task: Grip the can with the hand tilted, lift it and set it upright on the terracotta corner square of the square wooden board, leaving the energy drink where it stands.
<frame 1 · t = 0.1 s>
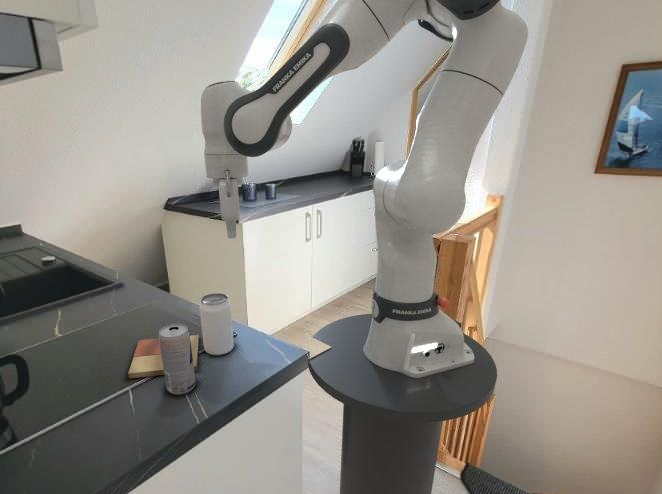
hand: (231, 232, 90), 23 cm above the counter, tool pointing down, fingers open, 8 cm apart
energy drink: (181, 387, 76), on the counter
can: (219, 349, 89), on the counter
square wooden board: (166, 357, 86), on the counter
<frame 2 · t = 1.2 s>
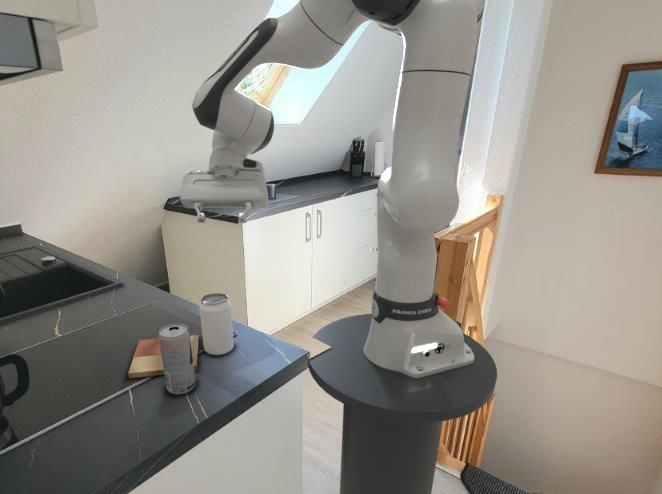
hand: (221, 221, 90), 25 cm above the counter, tool tilted 45°, fingers open, 8 cm apart
nothing on the counter moved.
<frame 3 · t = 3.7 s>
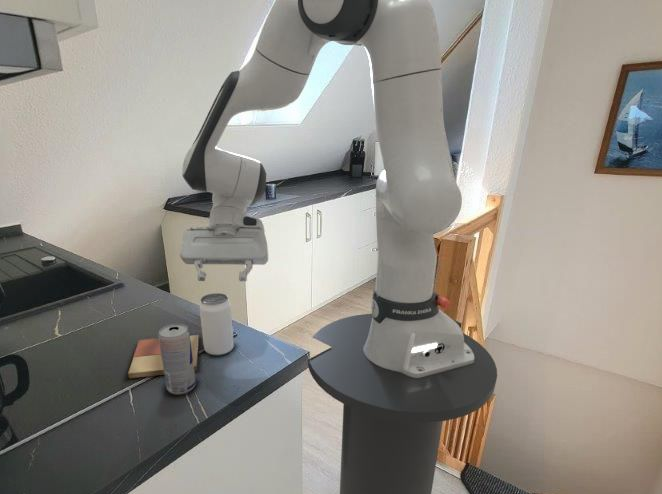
hand: (221, 280, 91), 13 cm above the counter, tool tilted 45°, fingers open, 8 cm apart
nothing on the counter moved.
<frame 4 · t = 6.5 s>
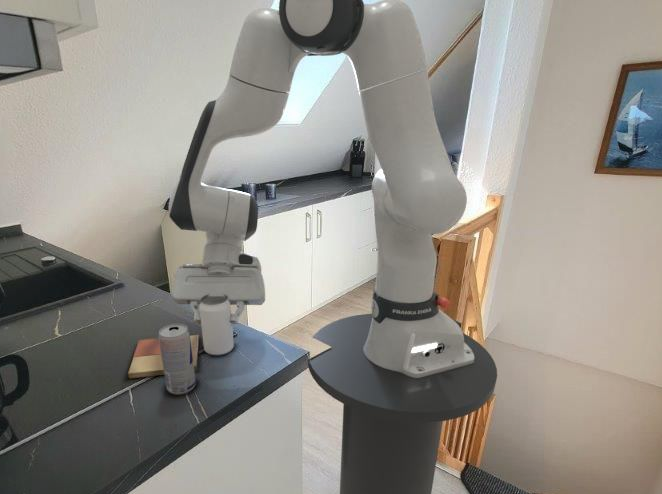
hand: (216, 323, 86), 7 cm above the counter, tool tilted 45°, fingers closed on can, 6 cm apart
can: (219, 349, 89), on the counter, touching gripper
everything else where it was.
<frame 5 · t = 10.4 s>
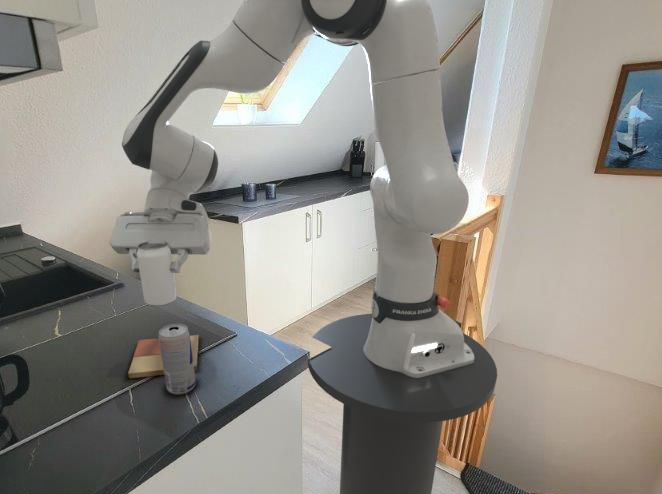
hand: (155, 271, 80), 19 cm above the counter, tool tilted 45°, fingers closed on can, 6 cm apart
can: (161, 301, 84), point 12 cm above the counter, touching gripper
everything else where it was.
when the fingers open (8 cm above the counter, at t = 14.3 s): can stays where it is, resting on square wooden board.
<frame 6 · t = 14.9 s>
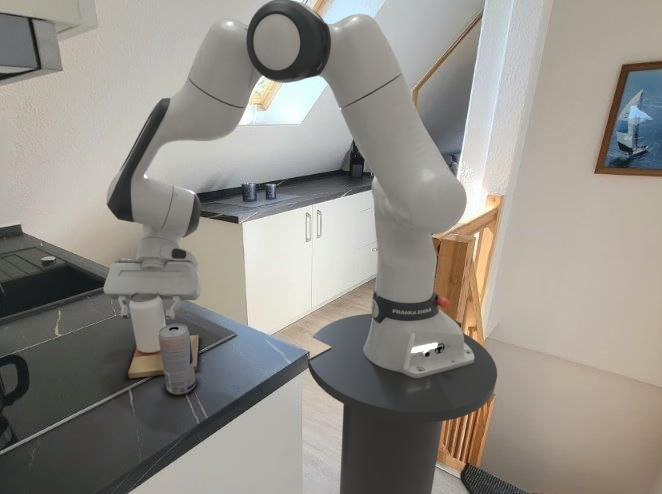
hand: (147, 318, 84), 8 cm above the counter, tool tilted 45°, fingers open, 8 cm apart
can: (153, 347, 87), point 1 cm above the counter, touching square wooden board
everything else where it was.
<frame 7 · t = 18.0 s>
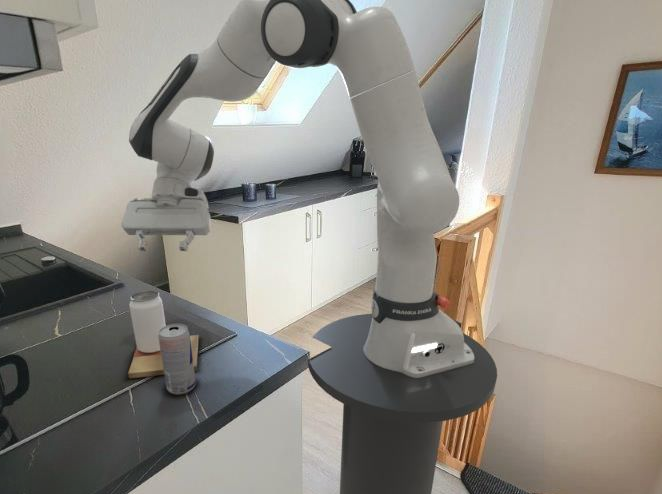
hand: (162, 250, 92), 19 cm above the counter, tool tilted 45°, fingers open, 8 cm apart
nothing on the counter moved.
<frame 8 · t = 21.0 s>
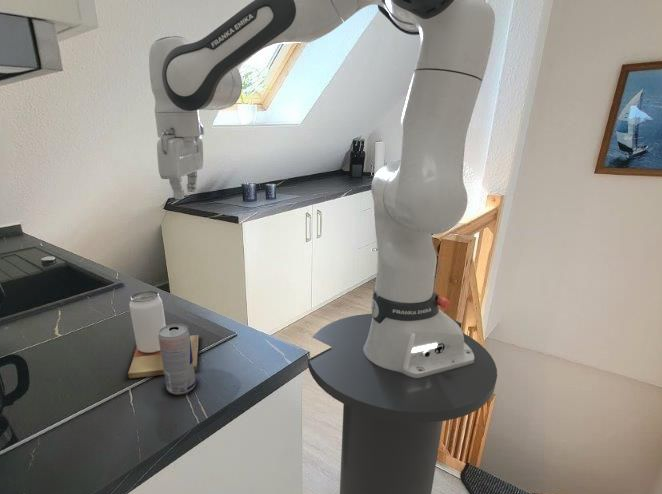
hand: (186, 195, 90), 31 cm above the counter, tool pointing down, fingers open, 8 cm apart
nothing on the counter moved.
at the end: can 0.0 cm from the target spot, point 1.1 cm above the counter; can tilted 0°; energy drink moved 0.2 cm from its start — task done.
